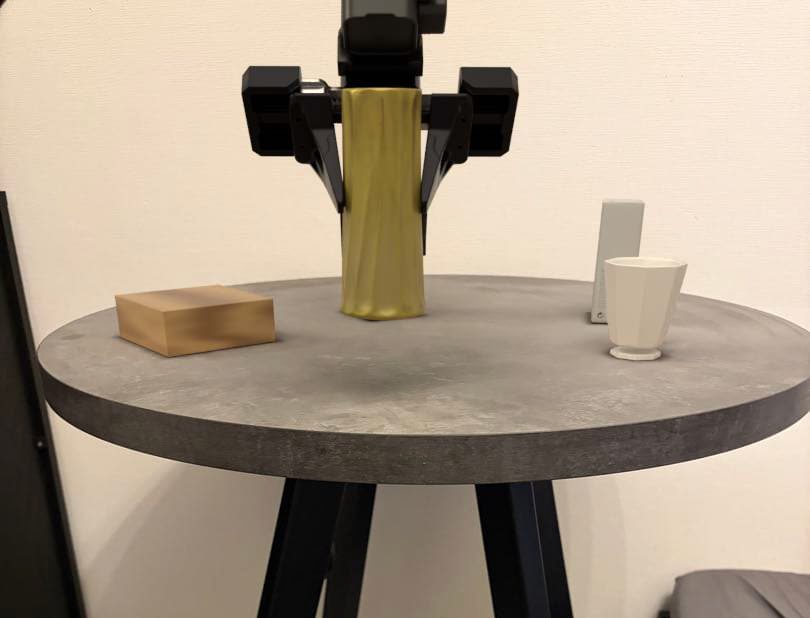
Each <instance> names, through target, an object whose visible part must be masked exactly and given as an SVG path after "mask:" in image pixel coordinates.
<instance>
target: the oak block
mask: <svg viewBox="0 0 810 618" xmlns="http://www.w3.org/2000/svg"><path fill="white" fill-rule="evenodd" d="M114 302H115V308H116V317H117V322H118V323H117V324H118V331H119V337H120V338H122V339H124V340H126V341H129V342H131V343H134V344H136V345H138V346H140V347H143V348H145V349H148V350H150V351H152V352H155V353H157V354H160V355H162V356H164V357H167V358H171V357H179V356H185V355H193V354H200V353H206V352H214V351H219V350H226V349H233V348H239V347H246V346H252V345H253V346H254V345H260V344H266V343H267V344H268V343H273V342H276V325H275V323H276V322H275V309H274V298H273V297H268V296H264V295H260V294H256V293H253V292H252V293H251V292H248V291H245V290H240V289H236V288H233V287H229V286H226V285H221V284H212V285H211V284H210V285H201V286H191V287H182V288H181V287H179V288H173V289H160V290H152V291H142V292H141V291H140V292H132V293H122V294H114Z"/></svg>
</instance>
